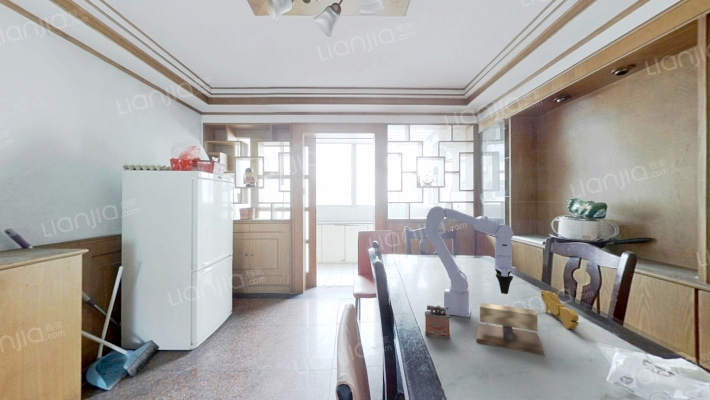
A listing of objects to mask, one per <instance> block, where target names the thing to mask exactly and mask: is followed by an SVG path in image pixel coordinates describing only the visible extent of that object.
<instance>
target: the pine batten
mask: <svg viewBox="0 0 710 400" xmlns="http://www.w3.org/2000/svg"><path fill="white" fill-rule="evenodd" d="M479 323H483V324H489V325H495V326H501V327H503V326H508V327H512V328H513V329H519V330H525V331H531V332H538V313H537V310H535V309H530V308H529V309H527V308H522V307H521V308H520V307H514V306H506V305H501V304H500V305H499V304H492V303H486V302H485V303H484V302H480V303H479Z"/></svg>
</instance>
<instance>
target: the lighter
mask: <svg viewBox="0 0 710 400" xmlns="http://www.w3.org/2000/svg"><path fill="white" fill-rule="evenodd" d="M424 316H425V317H424V318H425V330H424V335H425V337H428V338H433V339H439V340H450V339H451V334H450V318H451V317H450V316H451V314H447V313H446V308H444V306H443V307H441V305H436V306H435V305H427V306H426V311H424Z"/></svg>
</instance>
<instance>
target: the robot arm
mask: <svg viewBox="0 0 710 400" xmlns="http://www.w3.org/2000/svg"><path fill="white" fill-rule="evenodd" d="M488 217H489V216H486V215H483V216H482V215H480V216H477V217H475V216H472V215H470V214H466V213H463V212H461V211H460V210H456V209H453V208H448V207H442V206H439V205H436V206H433V207H431V208H430V209H429V210H428V213H427V215H426V221H425V222H426V223H425V234H426V235H427V238H428V240H429V241H430V243H431V244H432V246H433V249H434V250H435V253H436V254H437V256H438V257H439V260H440V261H441V263H442V266H443V267H444V269H445V270H446V273H447V276H448V278H449V279H450V287H449V288H445V289H444V293H443V308H446V313H447V314H449V315H450V316H451V315H452V316H456V317H464V318H470V317H471V308H470V290H469V289H468V288H469V282H468V281H467V280H468V279H467V278H468V277H467V275H466V274H465V273H464V272H463V271H462V270H461V269H460V267H459V266H458V264H457V262H456V261H455V260H454V258H453V256H452V254H451V252H450V250H449V248H448V247H447V245H446V243H445V241H444V239H443V238H442V236H441V234H440V232H439V228H440V225H441V223H442V222H443V221H444V219H445V220H446V221H447V220H456V221H459V222H462V223H465V224H468V225H471V226H473V228H474V229H475V230H476V231H479V232H482V233H484V234H487V235H489V236H495V237H494V238H495V239H494V240H495V242H494V264H495V265H494V269H495V270H494V271H495V277H496V278H497V281H498V284H499V288H500V294H504V295H508V294H509V291H510V286H511V282H512V281H513V279H514V276H513V275H510V274H511V272H512V271H515V270H516V266H513V248H512V247H513V244H512V238H513V236H514V234H515V233H514V231H513V228H512V227H511V226H509V225H508V224H505V223H503V222H501V221H500V220H493V219H490V218H488Z"/></svg>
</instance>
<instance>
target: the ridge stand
mask: <svg viewBox="0 0 710 400" xmlns="http://www.w3.org/2000/svg"><path fill="white" fill-rule="evenodd" d="M476 327H477V328H476V343H479V344H484V345H489V346H494V347H499V348H504V349H509V350H515V351H521V352H526V353H531V354H536V355H541V356H545V350H544V347H543V345H542V342H541V340H540V336H539V333H538V332H536V331H530V330H524V329H518V328H513V327H508V326H500V325H494V324H488V323H482V322H477V326H476Z"/></svg>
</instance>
